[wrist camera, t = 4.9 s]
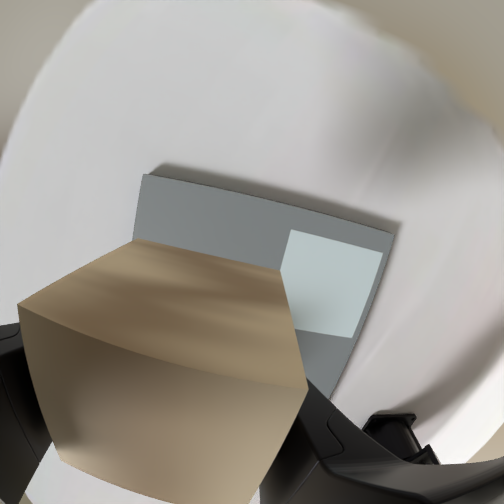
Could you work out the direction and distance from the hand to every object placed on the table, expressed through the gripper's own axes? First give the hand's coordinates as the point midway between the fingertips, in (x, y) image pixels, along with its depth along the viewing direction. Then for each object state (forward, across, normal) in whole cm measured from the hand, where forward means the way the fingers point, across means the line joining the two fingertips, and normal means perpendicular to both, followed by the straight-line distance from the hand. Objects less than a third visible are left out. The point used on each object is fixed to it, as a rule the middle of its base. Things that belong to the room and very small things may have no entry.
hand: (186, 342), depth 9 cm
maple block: (+2, 0, 0) cm, 2 cm away
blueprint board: (+12, -2, +5) cm, 13 cm away
